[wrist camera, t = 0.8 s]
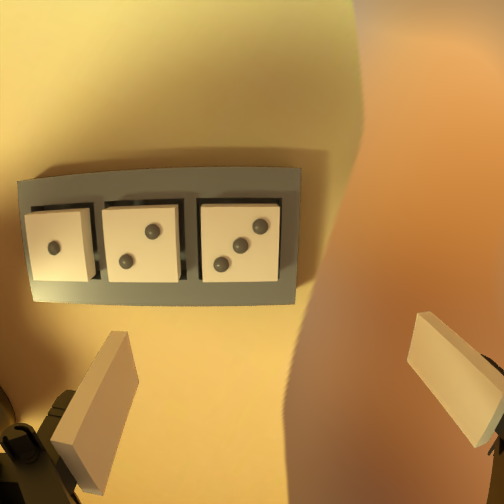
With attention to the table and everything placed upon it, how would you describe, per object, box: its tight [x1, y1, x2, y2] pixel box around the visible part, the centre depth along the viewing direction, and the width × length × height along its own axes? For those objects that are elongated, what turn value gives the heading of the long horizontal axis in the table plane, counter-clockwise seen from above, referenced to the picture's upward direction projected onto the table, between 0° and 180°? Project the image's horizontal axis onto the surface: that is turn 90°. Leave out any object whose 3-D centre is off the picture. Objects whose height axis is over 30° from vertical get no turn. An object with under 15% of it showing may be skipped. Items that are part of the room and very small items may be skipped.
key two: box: [102, 204, 181, 282], centre depth 26 cm, size 6×6×2 cm
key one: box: [24, 208, 96, 282], centre depth 25 cm, size 6×6×2 cm
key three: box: [201, 204, 280, 282], centre depth 26 cm, size 6×6×2 cm
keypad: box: [17, 166, 301, 306], centre depth 28 cm, size 26×12×3 cm, turn 89°
